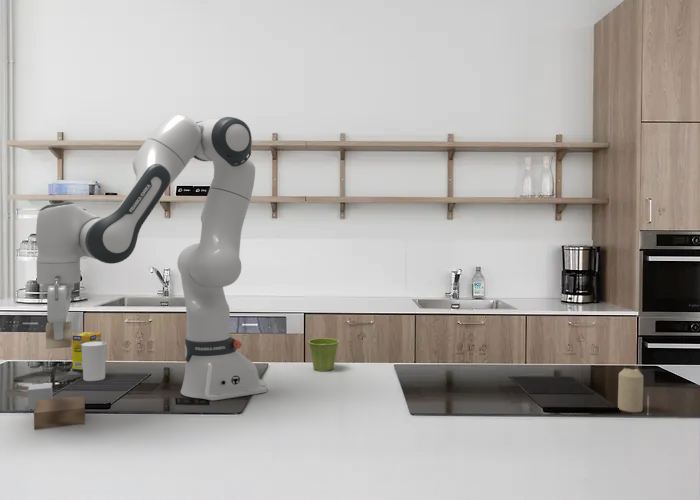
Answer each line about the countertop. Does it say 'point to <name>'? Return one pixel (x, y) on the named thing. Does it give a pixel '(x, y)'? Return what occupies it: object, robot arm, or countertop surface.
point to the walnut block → (59, 412)
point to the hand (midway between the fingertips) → (59, 336)
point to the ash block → (62, 342)
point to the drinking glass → (93, 360)
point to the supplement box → (77, 348)
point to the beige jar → (630, 390)
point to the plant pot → (323, 353)
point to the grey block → (39, 394)
